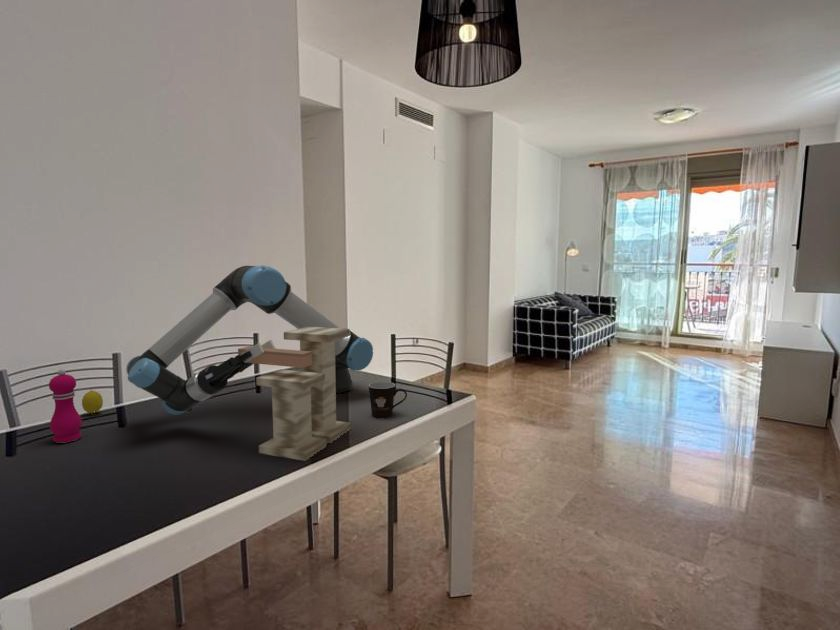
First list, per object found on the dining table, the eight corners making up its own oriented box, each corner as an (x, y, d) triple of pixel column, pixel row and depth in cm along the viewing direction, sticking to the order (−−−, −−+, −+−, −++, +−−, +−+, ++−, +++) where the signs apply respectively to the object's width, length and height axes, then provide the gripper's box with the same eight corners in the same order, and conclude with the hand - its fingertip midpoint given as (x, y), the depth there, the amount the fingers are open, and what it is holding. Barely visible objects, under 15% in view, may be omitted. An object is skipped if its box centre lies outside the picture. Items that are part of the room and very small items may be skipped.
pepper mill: (58, 447, 129) (51, 373, 126) (46, 441, 132) (39, 370, 130) (88, 438, 135) (82, 368, 132) (76, 433, 138) (70, 365, 136)
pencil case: (311, 364, 125) (311, 351, 124) (303, 368, 121) (302, 354, 121) (248, 359, 131) (248, 346, 131) (238, 361, 128) (238, 348, 127)
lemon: (81, 418, 152) (79, 393, 151) (84, 413, 157) (82, 389, 156) (102, 415, 154) (100, 391, 153) (104, 410, 159) (102, 387, 158)
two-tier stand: (351, 429, 143) (349, 328, 139) (305, 460, 120) (302, 342, 117) (310, 423, 147) (307, 326, 144) (259, 453, 125) (254, 338, 121)
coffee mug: (363, 417, 154) (363, 386, 152) (378, 409, 161) (377, 380, 160) (394, 422, 148) (394, 391, 147) (408, 415, 156) (408, 384, 155)
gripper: (177, 377, 127) (238, 338, 119) (223, 364, 143) (280, 329, 135) (189, 402, 126) (251, 365, 118) (235, 387, 142) (292, 352, 134)
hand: (266, 346), depth 127 cm, fingers closed on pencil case, 4 cm apart
